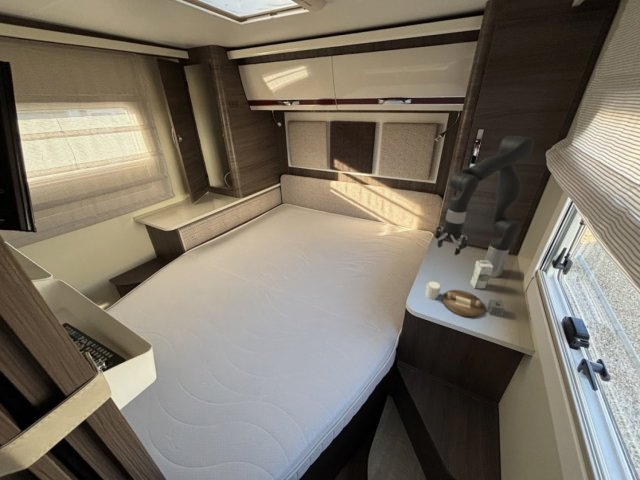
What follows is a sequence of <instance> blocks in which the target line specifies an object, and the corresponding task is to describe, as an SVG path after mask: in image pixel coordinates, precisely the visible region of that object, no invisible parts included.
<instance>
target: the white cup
mask: <svg viewBox="0 0 640 480" xmlns="http://www.w3.org/2000/svg"><path fill="white" fill-rule="evenodd" d="M441 289H442V284H441V283H440V282H438V281H436V280H428V281H427V282H426V288H425V296H426V298H428V299H430V300H436V299H438V297H439V294H440V292H441Z"/></svg>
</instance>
